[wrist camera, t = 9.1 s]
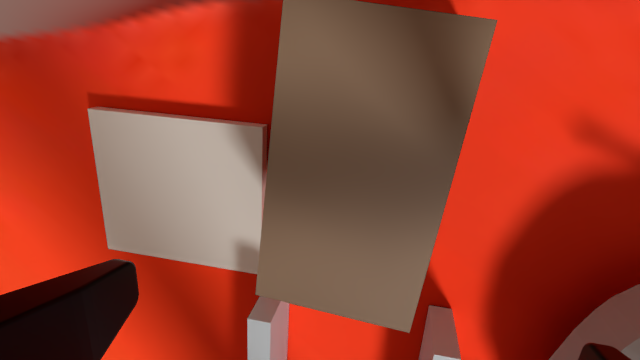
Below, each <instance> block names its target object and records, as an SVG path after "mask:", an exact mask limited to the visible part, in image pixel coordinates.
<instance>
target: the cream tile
mask: <svg viewBox="0 0 640 360" xmlns="http://www.w3.org/2000/svg"><path fill="white" fill-rule="evenodd" d="M88 116H89V123H90V129H91V136H92V143H93V150H94V156H95V163H96V170H97V177H98V183H99V190H100V197H101V204H102V210H103V217H104V224H105V231H106V237H107V244H108V249H112V250H118V251H124V252H130V253H136V254H142V255H147V256H153V257H159V258H165V259H171V260H177V261H183V262H188V263H194V264H200V265H206V266H212V267H218V268H223V269H229V270H235V271H241V272H247V273H253V274H257V272H258V261H259V251H260V240H261V229H262V219H263V208H264V198H265V187H266V176H267V124H259V123H249V122H240V121H230V120H221V119H211V118H202V117H192V116H183V115H173V114H164V113H154V112H145V111H135V110H126V109H116V108H107V107H93V108H88Z"/></svg>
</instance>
